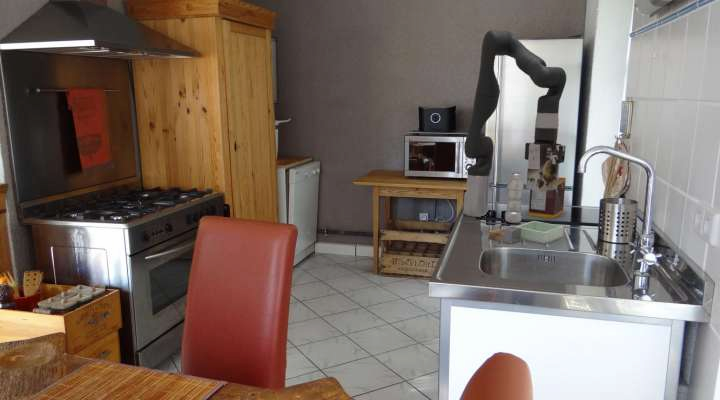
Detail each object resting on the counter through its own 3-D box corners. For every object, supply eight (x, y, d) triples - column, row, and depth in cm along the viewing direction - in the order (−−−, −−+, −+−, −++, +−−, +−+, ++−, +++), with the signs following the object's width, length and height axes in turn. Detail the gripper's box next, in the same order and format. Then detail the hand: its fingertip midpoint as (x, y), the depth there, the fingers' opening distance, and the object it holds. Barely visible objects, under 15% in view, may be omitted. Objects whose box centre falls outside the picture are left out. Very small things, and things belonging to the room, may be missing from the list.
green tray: (513, 237, 191) (514, 226, 190) (533, 231, 200) (533, 220, 199) (544, 244, 182) (544, 232, 182) (562, 237, 192) (563, 226, 191)
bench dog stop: (503, 242, 185) (504, 229, 184) (512, 239, 189) (513, 226, 188) (511, 244, 182) (511, 231, 182) (520, 240, 186) (521, 228, 186)
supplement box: (563, 212, 232) (566, 177, 229) (552, 219, 220) (555, 181, 217) (539, 209, 238) (542, 175, 235) (528, 215, 226) (530, 179, 223)
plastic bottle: (503, 223, 211) (506, 173, 207) (505, 220, 217) (508, 171, 213) (520, 225, 208) (523, 174, 205) (522, 221, 215) (525, 172, 211)
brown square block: (488, 239, 189) (489, 231, 188) (498, 236, 193) (498, 228, 192) (503, 243, 185) (503, 234, 184) (512, 240, 189) (513, 231, 188)
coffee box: (539, 191, 183) (542, 144, 180) (525, 188, 189) (528, 143, 185) (558, 189, 187) (561, 143, 184) (544, 186, 193) (547, 142, 189)
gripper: (522, 125, 186) (518, 172, 189) (561, 128, 176) (557, 177, 179) (532, 125, 191) (529, 170, 194) (571, 127, 181) (567, 175, 184)
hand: (542, 173), depth 187 cm, fingers closed on coffee box, 7 cm apart
